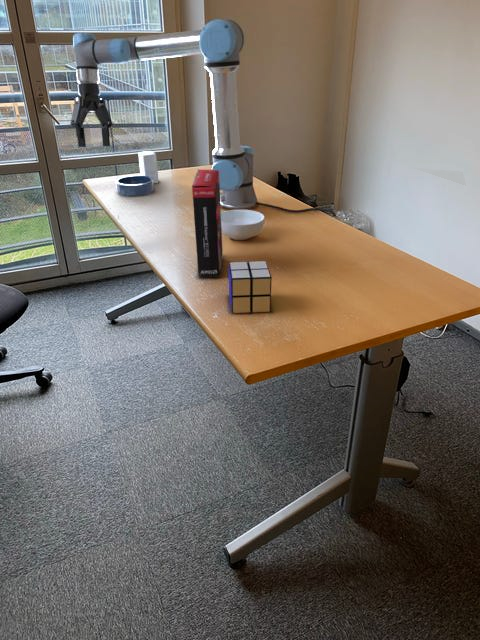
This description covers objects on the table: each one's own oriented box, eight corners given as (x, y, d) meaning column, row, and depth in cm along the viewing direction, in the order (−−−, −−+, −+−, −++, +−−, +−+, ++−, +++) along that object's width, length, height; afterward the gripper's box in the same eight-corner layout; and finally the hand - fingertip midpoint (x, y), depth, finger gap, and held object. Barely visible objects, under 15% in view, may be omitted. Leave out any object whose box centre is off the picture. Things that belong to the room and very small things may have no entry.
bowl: (159, 188, 226) (158, 176, 223) (143, 198, 213) (142, 186, 210) (128, 185, 230) (126, 174, 228) (110, 195, 217) (109, 183, 215)
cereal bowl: (271, 231, 178) (272, 212, 175) (252, 248, 165) (253, 227, 162) (228, 225, 184) (228, 206, 181) (207, 240, 171) (206, 220, 168)
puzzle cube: (229, 295, 137) (228, 262, 131) (265, 294, 137) (266, 260, 132) (231, 314, 128) (231, 278, 123) (270, 312, 129) (271, 277, 124)
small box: (159, 183, 233) (156, 154, 226) (145, 184, 231) (142, 155, 224) (153, 178, 239) (151, 150, 233) (140, 180, 237) (137, 151, 230)
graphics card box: (220, 279, 145) (217, 185, 132) (196, 279, 146) (191, 185, 132) (222, 255, 160) (220, 168, 146) (201, 255, 160) (196, 168, 146)
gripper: (102, 86, 191) (108, 145, 198) (54, 80, 170) (62, 147, 177) (118, 85, 188) (123, 145, 195) (72, 79, 167) (79, 147, 174)
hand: (94, 146), depth 186 cm, fingers open, 13 cm apart
